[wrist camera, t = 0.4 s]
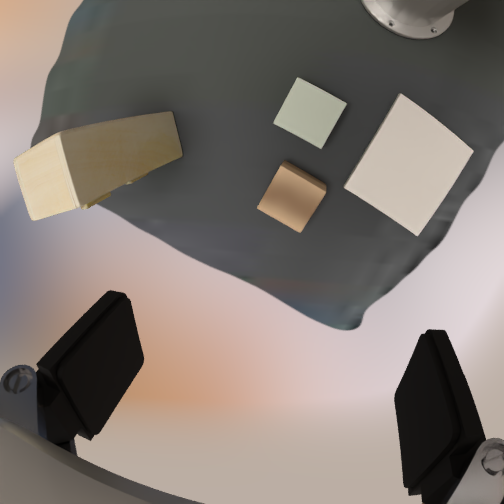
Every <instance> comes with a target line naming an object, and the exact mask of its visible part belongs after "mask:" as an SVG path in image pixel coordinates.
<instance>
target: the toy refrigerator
mask: <svg viewBox="0 0 504 504" xmlns="http://www.w3.org/2000/svg"><path fill="white" fill-rule="evenodd" d="M182 156H183V154H182V148H181V144H180V140H179V136H178V132H177V128H176V124H175V120H174V116H173V112H171V111H169V112H161V113H154V114H147V115H140V116H133V117H128V118H122V119H116V120H111V121H106V122H101V123H96V124H91V125H87V126H82V127H78V128H73V129H69V130H65V131H61V132H58V133H56V134H54V135H52V136H50V137H49V138H47V139H45V140H44V141H42V142H40V143H39V144H37V145H35V146H34V147H32V148H30V149H29V150H27V151H25V152H24V153H23V154H21V155H19V156H18V157H16V158H15V159H14V166H15V170H16V173H17V177H18V180H19V184H20V187H21V191H22V194H23V197H24V200H25V203H26V206H27V209H28V212H29V215H30V217H31V219H32V221H36V220H39V219H43V218H45V217H49V216H52V215H56V214H59V213H62V212H66V211H69V210H72V209H76V208H79V207H81V209H83V210H84V209H88V208H90V207H91V206H93V205H95V204H96V203H98V202H100V201H102V200H104V199H105V198H107V197H109V196H111V193H110V191H112V190H114V189H116V188H118V187H119V186H121V185H123V184H125V183H126V185H127V184H130V183H133V182H134V181H136V180H138V179H140V178H142V177H144V176H146V175H148V172H149V171H152V170H154V169H156V168H158V167H160V166H162V165H164V164H167V163H169V162H171V161H173V160H176V159H178V158H180V157H182Z"/></svg>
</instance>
